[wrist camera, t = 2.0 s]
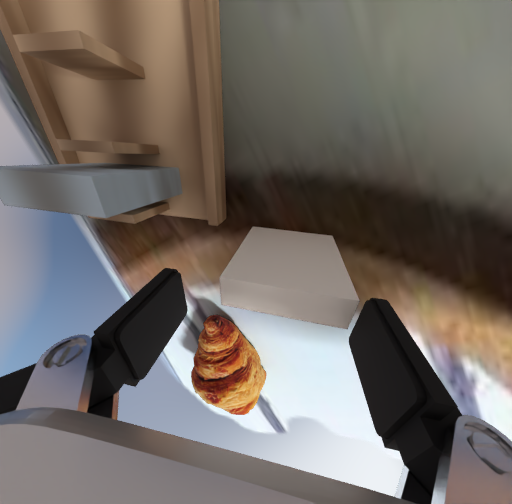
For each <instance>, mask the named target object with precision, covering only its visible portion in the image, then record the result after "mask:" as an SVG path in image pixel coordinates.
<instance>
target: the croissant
mask: <svg viewBox="0 0 512 504" xmlns="http://www.w3.org/2000/svg"><path fill="white" fill-rule="evenodd" d="M203 324H204V327H205V328H204V329H203V331H202V332H201V334H200V336H199V339H198V340H199V343H198V349H197V352H196V354H195V357H194V367H193V370H192V373H191V377H192V384H193V387H194V389H195V392H196V393H198V394H199V395H200V397H201V398H202V399H203V400H204V401H206V402H207V403H208V404H212V405H214V406H216V407H219V408H222V409H224V410H226V411H227V412H229V413H231V414H236V415H244V414H247V413H248V412H249V411H250V410H251V409H253V407H254V406H255V404H256V403H257V400H258V398H259V394H260V391H261V389H262V387H263V385H264V383H265V379H266V371H265V370H264V369H263V368H262V366H261V365H260V357H259V355H258V353H257V351H256V350H255V349H254V347H253V346H252V345H251V344H250V343H249V342H248V341H247V339H246V338H245V337H244V336H243V335H242V333H241V332H240V331H239V330H238V328H237V327H236V326H235V325H234V324H233V323H232V322H231V321H229V320H227V319H225V318H223V317H221V316H219V315H212V316H209V317H208V318H207V319H206V321H205V322H204V323H203Z"/></svg>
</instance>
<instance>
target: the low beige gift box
mask: <svg viewBox="0 0 512 504" xmlns="http://www.w3.org/2000/svg"><path fill="white" fill-rule="evenodd" d="M220 291H221V305H226V306H231V307H236V308H241V309H246V310H251V311H256V312H261V313H266V314H272V315H277V316H282V317H287V318H292V319H297V320H302V321H307V322H313V323H318V324H323V325H328V326H333V327H338V328H343V329H348V327H349V325H350V322H351V320H352V318H353V315H354V313H355V311H356V308H357V306H358V304H359V298H358V296H357V293H356V291H355V289H354V286H353V284H352V281H351V279H350V277H349V274H348V272H347V269H346V267H345V265H344V262H343V260H342V257H341V255H340V253H339V250H338V248H337V245H336V243H335V241H334V238H333V236H330V235H321V234H313V233H304V232H296V231H288V230H279V229H271V228H262V227H254V226H253V227H252V228H251V230H250V231H249V233H248V234H247V236H246V238H245V239H244V241H243V242H242V244H241V245H240V247H239V248H238V250H237V251H236V253H235V254H234V256H233V257H232V259H231V261H230V262H229V264H228V265H227V267H226V268H225V270H224V271H223V273H222V274H221V276H220Z"/></svg>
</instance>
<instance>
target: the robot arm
mask: <svg viewBox="0 0 512 504" xmlns="http://www.w3.org/2000/svg"><path fill="white" fill-rule="evenodd" d="M186 314H187V304H186V299H185V294H184V289H183V284H182V278H181V274H180V273H178V271H177V270H176V269H169V268H165V269H163V270H162V271H161V272H160V273H159V274H158V275H157V276H155V277H154V278H153V279H152V280H151V281H150V282H149V283H148V284H146V285H145V286H144V287H143V288H142V289H141V290H140V291H139V292H137V293H136V294H135V295H134V296H133V297H132V298H131V299H130V300H129V301H127V302H126V303H125V304H124V305H123V306H122V307H121V308H120V309H119V310H117V311H116V312H115V313H114V314H113V315H112V316H111V317H110V318H108V319H107V320H106V321H105V322H104V323H103V324H102V325H101V326H99V327H98V328H97V329H96V330H95V331H94V334H95V335H94V336H93V337H92V338H90V336H88V335H75V336H71V337H69V338H66V339H63V340H62V341H60V342H58V343H56V344H54V345H53V346H52V347H51V348H49V349H48V350H47V351H46V352H45V353H44V354H43V355H42V356H41V357H40V359H39V361H38V362H37V363H36V364H33V365H31V366H28V367H26V368H23V369H20V370H18V371H15V372H13V373H10V374H8V375H5V376H3V377H0V504H512V442H511V441H510V440H509V439H508V438H507V437H506V436H505V435H504V434H502V433H501V432H500V431H499V430H497V429H496V428H495V427H493V426H492V425H490V424H488V423H487V422H485V421H483V420H481V419H479V418H476V417H474V416H469V415H463V416H462V414H461V413H460V411H459V410H458V408H457V407H458V406H457V405H456V403H455V402H454V400H453V399H452V397H451V396H450V394H449V393H448V391H447V390H446V388H445V387H444V385H443V384H442V382H441V381H440V379H439V378H438V376H437V375H436V373H435V372H434V370H433V369H432V367H431V366H430V364H429V363H428V361H427V359H426V358H425V356H424V355H423V353H422V352H421V350H420V349H419V347H418V346H417V344H416V343H415V341H414V340H413V338H412V337H411V335H410V334H409V332H408V331H407V329H406V328H405V326H404V325H403V323H402V322H401V320H400V319H399V317H398V316H397V314H396V312H395V311H394V309H393V308H392V306H391V305H390V303H389V302H388V301H387V300H384V299H377V298H371V299H370V300H367V301H366V302H365V304H364V306H363V309H362V311H361V313H360V315H359V317H358V320H357V322H356V324H355V326H354V328H353V330H352V333H351V335H350V337H349V345H350V348H351V352H352V355H353V358H354V361H355V365H356V368H357V371H358V375H359V378H360V381H361V384H362V388H363V391H364V394H365V398H366V401H367V404H368V407H369V411H370V414H371V417H372V421H373V424H374V427H375V430H376V432H377V434H378V435H379V436H381V437H382V440H383V443H384V446H385V448H389V449H393V450H397V451H400V454H401V457H402V460H403V462H404V467H403V470H402V473H401V477H400V480H399V483H398V487H397V491H396V494H395V497H393V496H389V495H386V494H383V493H379V492H376V491H373V490H370V489H366V488H363V487H359V486H355V485H352V484H348V483H345V482H341V481H338V480H334V479H331V478H327V477H323V476H320V475H316V474H313V473H309V472H305V471H302V470H298V469H295V468H291V467H288V466H284V465H280V464H277V463H273V462H269V461H266V460H262V459H259V458H255V457H251V456H248V455H244V454H241V453H237V452H233V451H230V450H226V449H222V448H219V447H215V446H211V445H208V444H204V443H200V442H197V441H193V440H189V439H185V438H182V437H178V436H175V435H171V434H167V433H163V432H160V431H155V430H152V429H148V428H145V427H141V426H137V425H134V424H130V423H126V422H122V421H118V420H117V415H118V399H119V390H120V388H121V387H122V386H123V384H127V385H131V386H136V385H137V384H138V382H139V381H140V380H141V379H143V378H144V377H145V376H146V375H147V373H148V372H149V370H150V369H151V367H152V366H153V364H154V363H155V361H156V360H157V358H158V357H159V355H160V354H161V352H162V351H163V349H164V348H165V346H166V345H167V343H168V342H169V340H170V339H171V337H172V336H173V334H174V333H175V331H176V330H177V328H178V326H179V325H180V323H181V322H182V320H183V319H184V317H185V316H186Z"/></svg>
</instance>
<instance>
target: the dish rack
mask: <svg viewBox="0 0 512 504" xmlns="http://www.w3.org/2000/svg"><path fill="white" fill-rule="evenodd" d="M0 29H1V31H2V34H3V36H4V38H5V41H6V43H7V45H8V47H9V50H10V52H11V54H12V57H13V59H14V61H15V64H16V66H17V68H18V71H19V73H20V75H21V77H22V80H23V82H24V84H25V87H26V89H27V91H28V94H29V96H30V98H31V100H32V103H33V105H34V107H35V110H36V112H37V114H38V117H39V119H40V121H41V124H42V126H43V128H44V130H45V133H46V135H47V137H48V140H49V142H50V144H51V147H52V149H53V151H54V154H55V156H56V158H57V160H58V163H59V164H53V165H27V166H26V165H24V166H0V199H1V201H2V202H3V204H4V205H7V206H15V207H23V208H30V209H38V210H46V211H55V212H61V213H69V214H77V215H85V216H88V217H89V218H95V219H103V220H110V221H118V222H126V223H134V224H136V223H138V222H140V221H143V220H145V219H148V218H150V217H153V216H155V215H157V214H160V215H169V216H178V217H186V218H195V219H203V220H208V224H209V225H213V226H218V225H219V224H221V223H222V222H223V221H224V220H225V219H226V189H225V161H224V132H223V104H222V75H221V47H220V18H219V0H0Z"/></svg>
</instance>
